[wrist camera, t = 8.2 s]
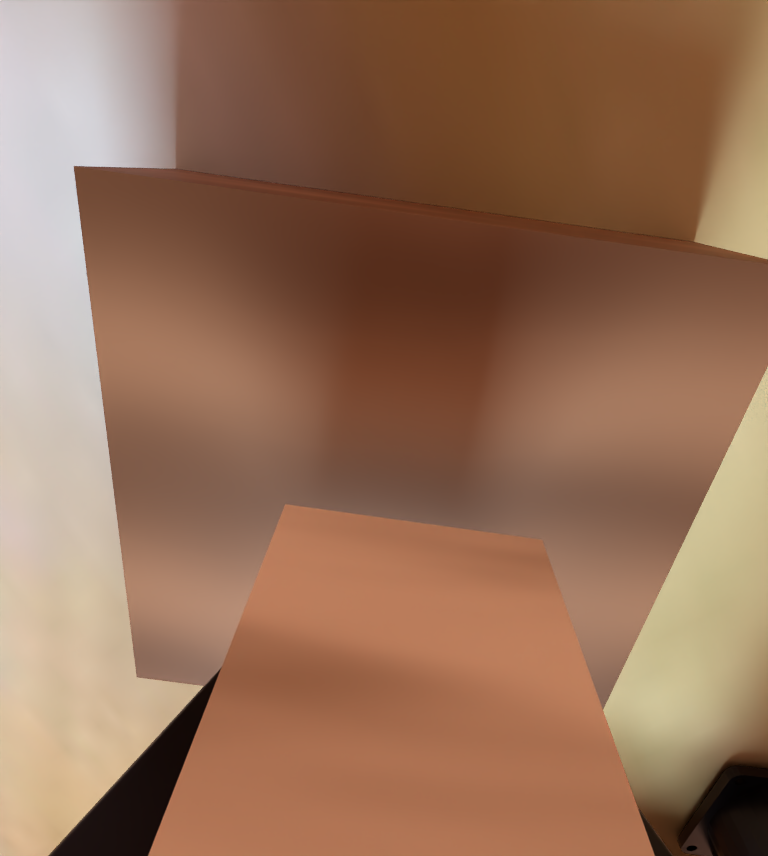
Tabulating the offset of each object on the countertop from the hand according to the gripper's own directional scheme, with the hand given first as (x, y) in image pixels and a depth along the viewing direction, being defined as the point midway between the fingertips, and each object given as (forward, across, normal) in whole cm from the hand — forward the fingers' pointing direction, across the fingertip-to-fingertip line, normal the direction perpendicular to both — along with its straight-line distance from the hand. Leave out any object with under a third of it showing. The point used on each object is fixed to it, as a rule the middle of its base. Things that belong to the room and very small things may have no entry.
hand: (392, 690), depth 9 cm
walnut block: (+10, 0, 0) cm, 10 cm away
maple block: (+2, 0, 0) cm, 2 cm away
